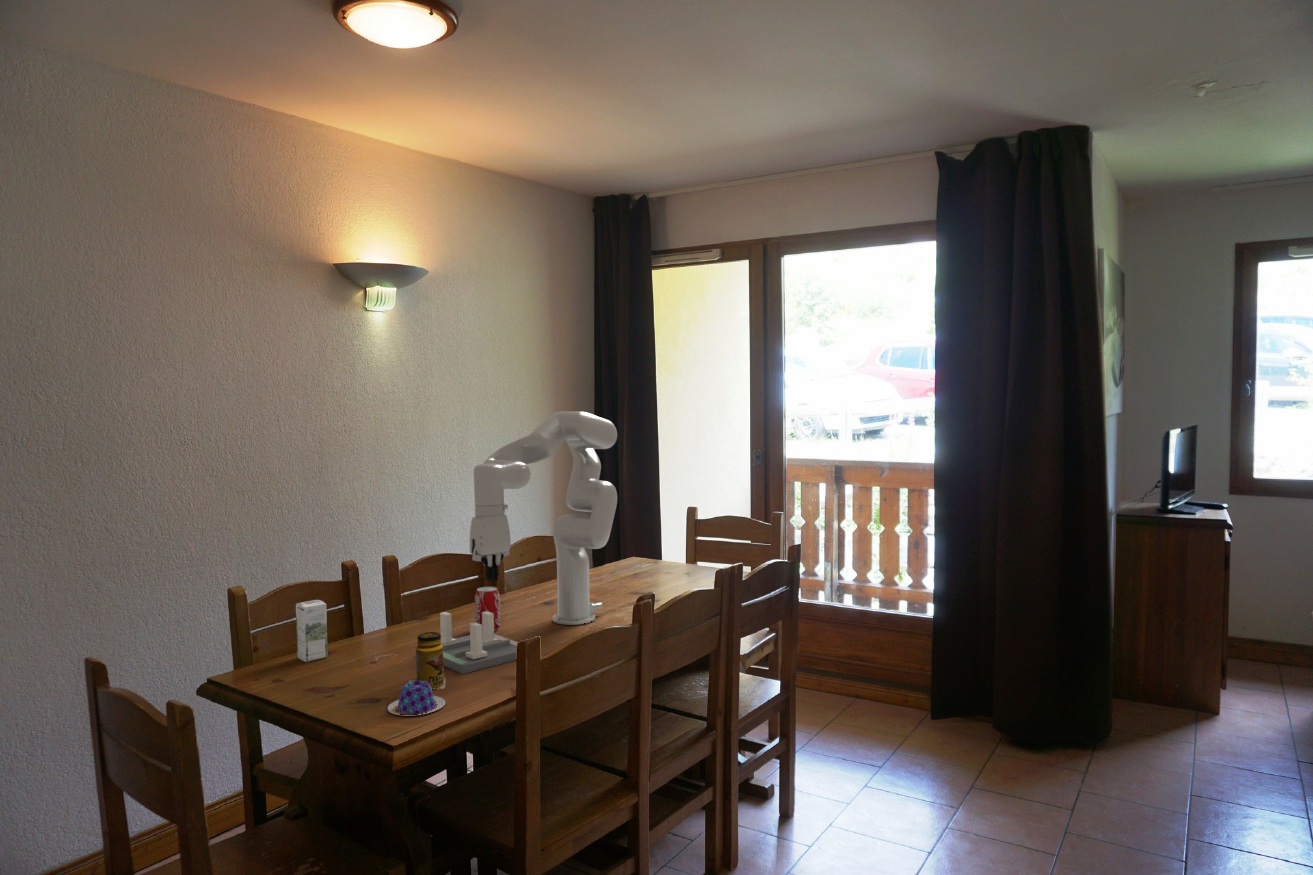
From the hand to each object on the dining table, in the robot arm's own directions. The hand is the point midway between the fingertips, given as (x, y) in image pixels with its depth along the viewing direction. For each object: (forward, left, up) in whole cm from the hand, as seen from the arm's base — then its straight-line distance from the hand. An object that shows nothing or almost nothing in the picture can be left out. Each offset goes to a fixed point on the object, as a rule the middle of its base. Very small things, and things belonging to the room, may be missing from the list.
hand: (492, 580), depth 220 cm
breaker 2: (+10, +8, -16) cm, 20 cm away
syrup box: (+37, -28, -19) cm, 50 cm away
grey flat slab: (+6, 0, -19) cm, 19 cm away
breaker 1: (+10, -7, -16) cm, 20 cm away
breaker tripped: (+2, 0, -16) cm, 16 cm away
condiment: (+26, +12, -19) cm, 34 cm away
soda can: (-9, -18, -19) cm, 28 cm away
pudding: (+34, +23, -19) cm, 45 cm away
